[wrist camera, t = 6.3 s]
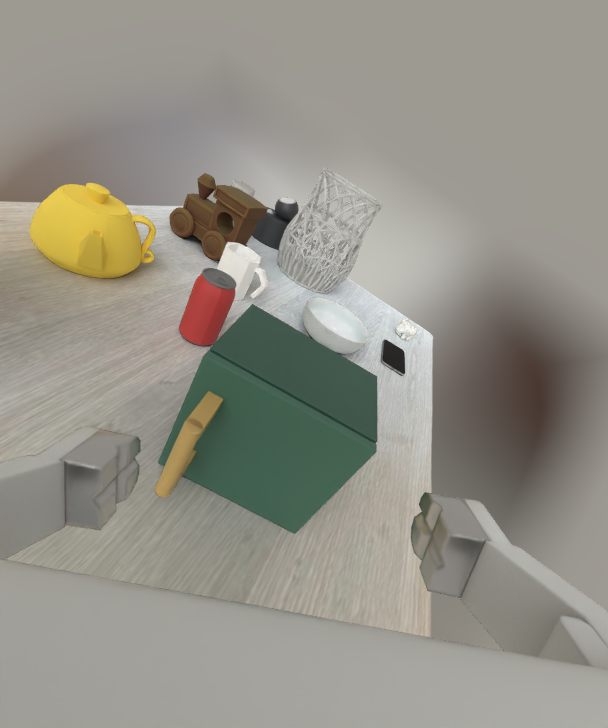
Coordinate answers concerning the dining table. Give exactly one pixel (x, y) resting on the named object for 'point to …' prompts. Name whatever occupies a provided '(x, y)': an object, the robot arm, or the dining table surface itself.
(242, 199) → the wooden toy train
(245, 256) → the mug
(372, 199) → the vase
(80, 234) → the teapot
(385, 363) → the smartphone
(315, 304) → the cereal bowl
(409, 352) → the dining table surface
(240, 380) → the door
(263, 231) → the light fixture
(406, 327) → the elephant figurine
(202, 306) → the beer can
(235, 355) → the cupboard
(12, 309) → the dining table surface
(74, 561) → the dining table surface
